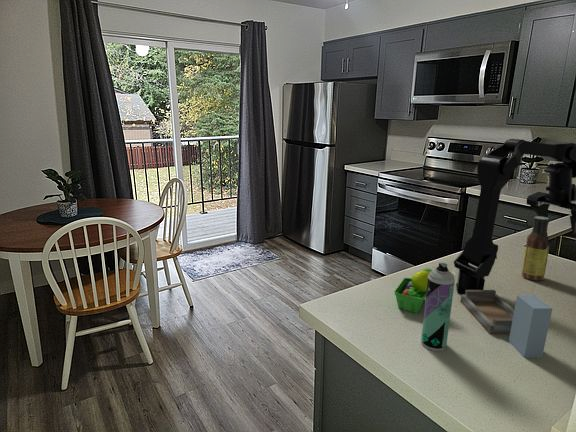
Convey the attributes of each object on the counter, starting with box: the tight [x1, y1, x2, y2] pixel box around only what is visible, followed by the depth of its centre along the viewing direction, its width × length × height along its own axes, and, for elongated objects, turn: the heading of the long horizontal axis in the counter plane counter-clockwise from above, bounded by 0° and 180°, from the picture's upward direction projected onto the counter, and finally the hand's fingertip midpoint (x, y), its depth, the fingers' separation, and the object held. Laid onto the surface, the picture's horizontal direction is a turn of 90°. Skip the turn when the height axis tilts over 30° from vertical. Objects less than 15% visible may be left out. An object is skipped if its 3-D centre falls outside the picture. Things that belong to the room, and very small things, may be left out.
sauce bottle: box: [521, 215, 551, 282], centre depth 121 cm, size 6×6×20 cm
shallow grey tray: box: [460, 289, 515, 335], centre depth 100 cm, size 16×10×4 cm, turn 0°
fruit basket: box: [393, 267, 432, 314], centre depth 105 cm, size 11×9×11 cm
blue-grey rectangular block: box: [508, 294, 553, 359], centre depth 85 cm, size 6×4×12 cm, turn 0°
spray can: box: [420, 262, 456, 352], centre depth 86 cm, size 6×6×20 cm
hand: (559, 228), depth 122 cm, fingers open, 9 cm apart
